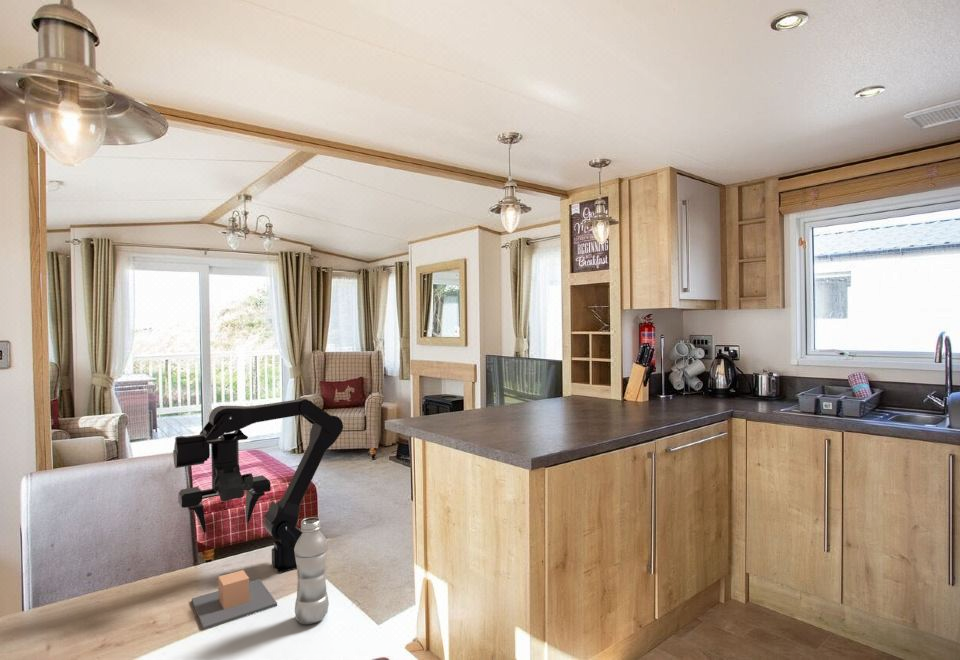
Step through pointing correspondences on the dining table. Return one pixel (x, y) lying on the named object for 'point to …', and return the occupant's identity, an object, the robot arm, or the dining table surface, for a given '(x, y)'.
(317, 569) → the plastic bottle
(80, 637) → the dining table surface
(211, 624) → the charcoal mat
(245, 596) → the peach block
